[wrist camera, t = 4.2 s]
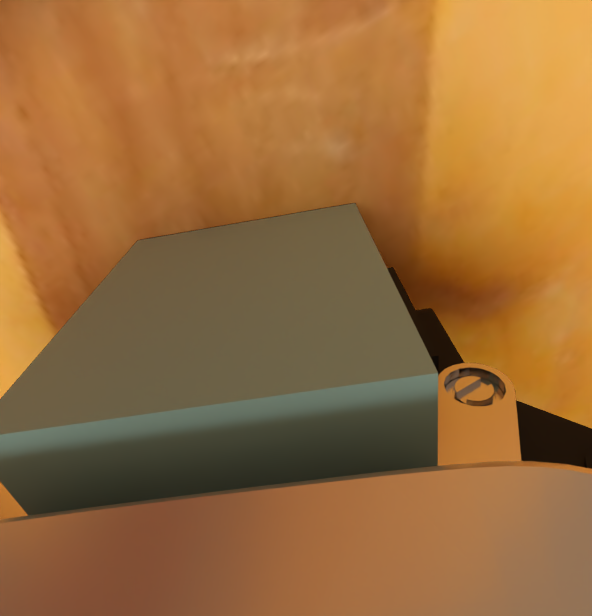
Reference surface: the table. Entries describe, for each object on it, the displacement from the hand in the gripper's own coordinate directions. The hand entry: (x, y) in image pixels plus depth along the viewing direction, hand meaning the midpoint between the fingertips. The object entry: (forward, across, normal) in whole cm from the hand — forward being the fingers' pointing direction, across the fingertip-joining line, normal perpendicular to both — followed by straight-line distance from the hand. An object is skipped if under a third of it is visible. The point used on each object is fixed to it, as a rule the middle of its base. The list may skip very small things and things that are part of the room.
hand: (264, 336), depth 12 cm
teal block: (+1, 0, 0) cm, 1 cm away
